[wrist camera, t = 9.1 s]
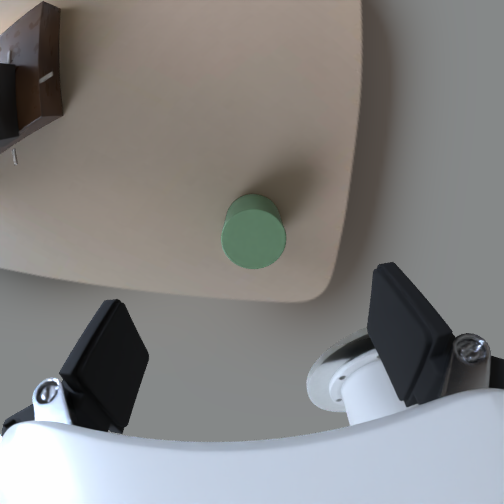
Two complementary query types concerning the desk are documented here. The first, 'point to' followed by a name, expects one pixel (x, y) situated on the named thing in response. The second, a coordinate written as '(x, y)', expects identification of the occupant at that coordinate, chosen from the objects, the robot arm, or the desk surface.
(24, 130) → the base
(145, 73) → the desk surface
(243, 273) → the desk surface
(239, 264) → the green cylinder
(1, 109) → the block
